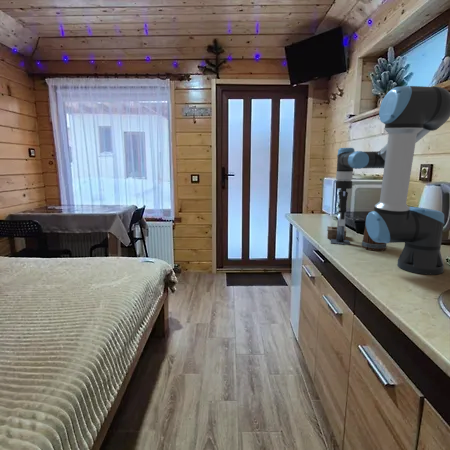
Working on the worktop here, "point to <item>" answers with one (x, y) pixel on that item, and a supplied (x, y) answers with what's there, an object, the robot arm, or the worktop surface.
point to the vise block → (333, 233)
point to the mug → (371, 243)
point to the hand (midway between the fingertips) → (341, 223)
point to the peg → (340, 232)
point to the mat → (346, 242)
